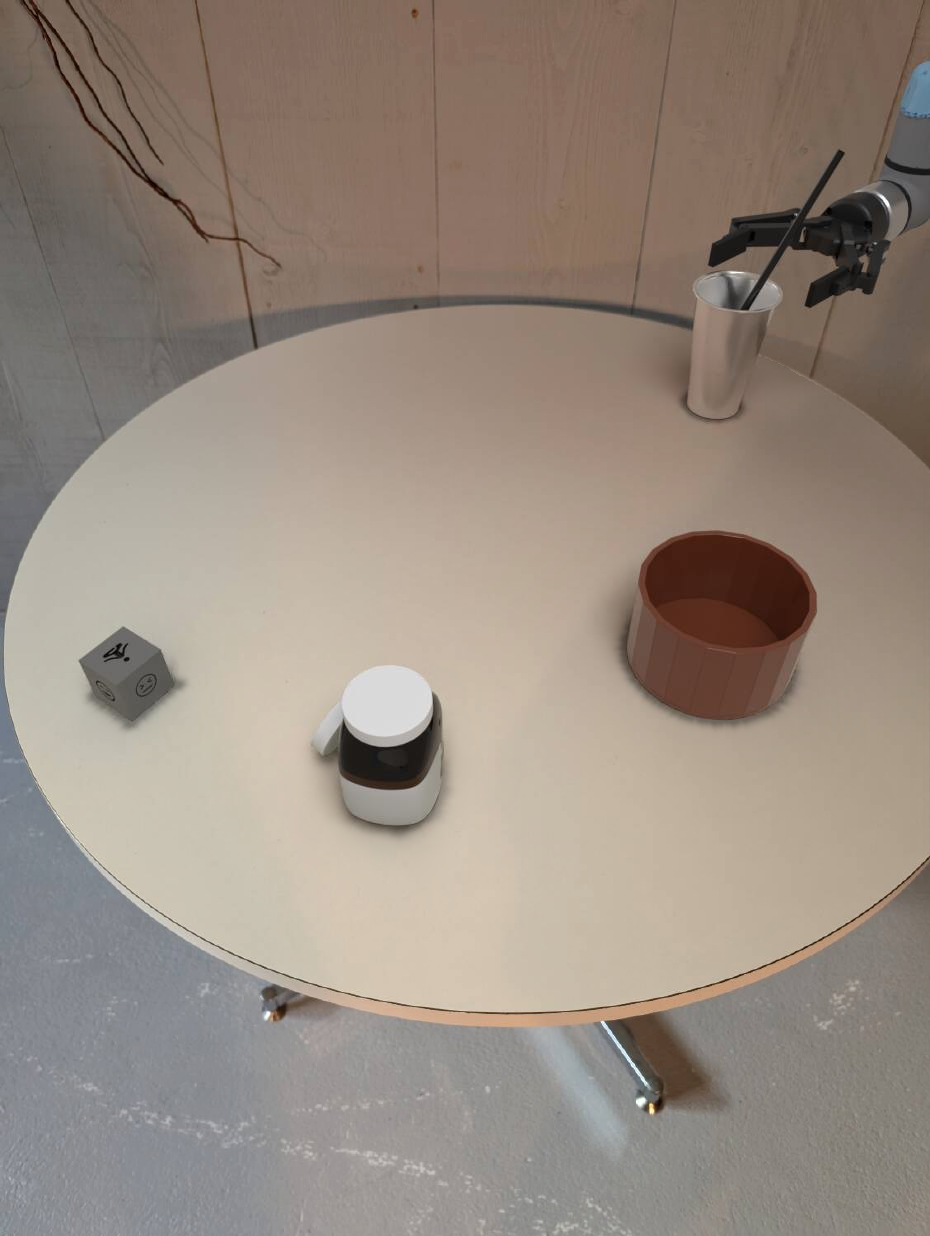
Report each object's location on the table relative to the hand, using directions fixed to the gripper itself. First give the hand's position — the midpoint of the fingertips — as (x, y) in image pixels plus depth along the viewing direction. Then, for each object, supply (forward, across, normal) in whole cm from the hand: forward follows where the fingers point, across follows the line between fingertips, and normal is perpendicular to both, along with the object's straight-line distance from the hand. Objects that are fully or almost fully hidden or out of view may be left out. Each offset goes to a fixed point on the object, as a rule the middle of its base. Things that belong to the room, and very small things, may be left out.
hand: (759, 274), depth 105 cm
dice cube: (+80, +6, -16) cm, 82 cm away
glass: (+3, 0, -16) cm, 16 cm away
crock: (+38, -26, -16) cm, 48 cm away
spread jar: (+69, -16, -16) cm, 73 cm away
